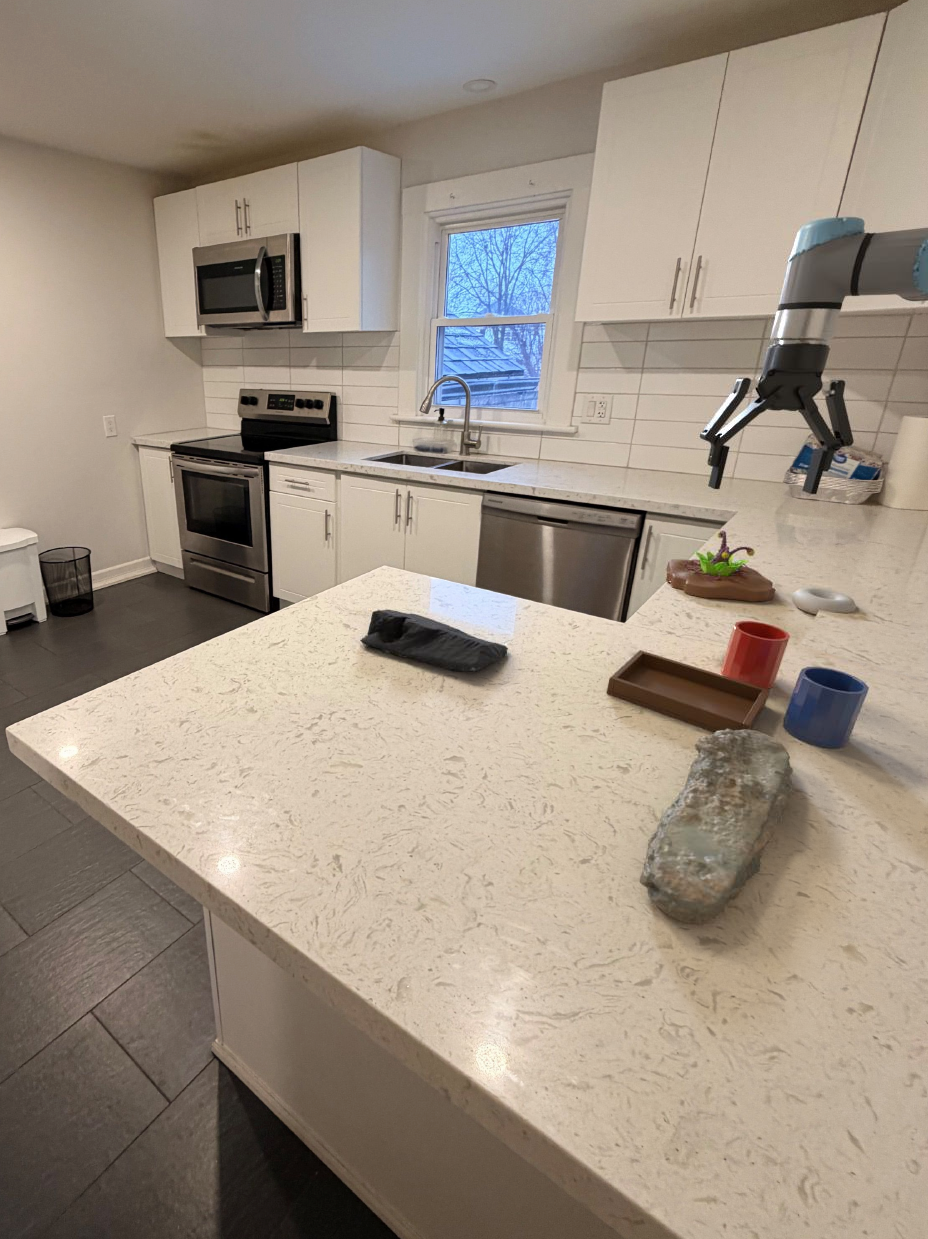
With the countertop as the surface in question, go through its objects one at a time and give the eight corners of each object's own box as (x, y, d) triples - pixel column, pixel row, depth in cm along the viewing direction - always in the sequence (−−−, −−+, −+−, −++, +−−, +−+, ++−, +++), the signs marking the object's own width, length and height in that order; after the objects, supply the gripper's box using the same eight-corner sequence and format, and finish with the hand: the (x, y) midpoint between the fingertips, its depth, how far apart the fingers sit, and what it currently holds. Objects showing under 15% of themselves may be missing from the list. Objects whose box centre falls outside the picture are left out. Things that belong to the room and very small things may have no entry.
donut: (785, 610, 124) (849, 624, 118) (790, 594, 123) (855, 607, 116) (794, 597, 131) (855, 609, 124) (799, 581, 129) (861, 593, 123)
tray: (764, 705, 90) (770, 689, 89) (744, 742, 82) (749, 725, 81) (636, 664, 101) (639, 649, 100) (606, 693, 93) (609, 677, 92)
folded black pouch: (470, 688, 93) (474, 659, 91) (351, 643, 106) (352, 617, 104) (515, 652, 104) (519, 626, 102) (402, 616, 117) (404, 592, 115)
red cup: (778, 677, 98) (793, 630, 95) (768, 694, 93) (784, 645, 90) (727, 662, 103) (740, 617, 99) (715, 677, 98) (729, 630, 95)
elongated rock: (605, 897, 60) (722, 967, 54) (618, 857, 58) (742, 926, 52) (711, 730, 83) (801, 766, 77) (723, 697, 81) (817, 731, 75)
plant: (749, 573, 143) (763, 525, 139) (785, 605, 126) (803, 551, 121) (653, 565, 147) (664, 517, 143) (675, 595, 130) (688, 542, 125)
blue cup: (850, 732, 84) (871, 679, 81) (843, 755, 80) (865, 699, 77) (787, 712, 89) (805, 661, 86) (777, 733, 84) (796, 679, 81)
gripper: (881, 345, 94) (837, 490, 101) (697, 342, 98) (668, 481, 106) (914, 344, 87) (864, 499, 94) (715, 341, 91) (682, 489, 99)
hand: (760, 490), depth 100 cm, fingers open, 13 cm apart
